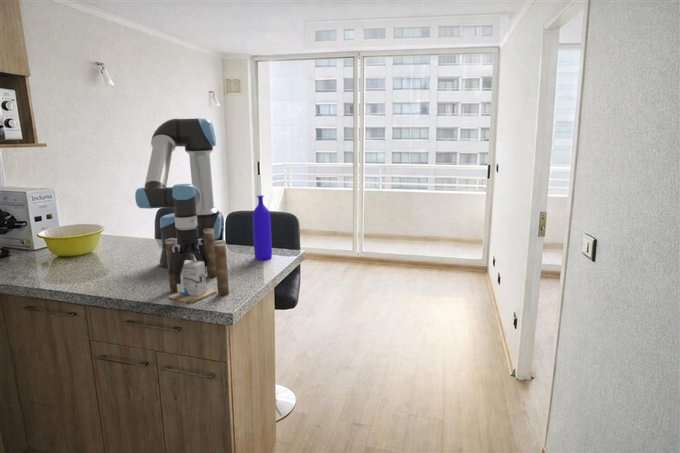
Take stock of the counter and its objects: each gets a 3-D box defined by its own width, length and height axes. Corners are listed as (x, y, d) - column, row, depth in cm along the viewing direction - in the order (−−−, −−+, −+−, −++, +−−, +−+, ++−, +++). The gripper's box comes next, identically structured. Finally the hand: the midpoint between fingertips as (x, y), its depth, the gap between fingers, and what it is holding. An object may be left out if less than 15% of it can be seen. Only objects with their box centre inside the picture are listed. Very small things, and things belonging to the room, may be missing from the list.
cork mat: (168, 298, 161) (167, 296, 161) (193, 288, 171) (193, 286, 171) (191, 303, 155) (191, 301, 155) (216, 293, 165) (216, 291, 165)
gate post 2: (204, 277, 184) (201, 230, 180) (212, 274, 188) (208, 228, 184) (212, 278, 182) (208, 231, 178) (219, 275, 186) (215, 229, 182)
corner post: (215, 294, 164) (211, 242, 159) (223, 291, 167) (219, 239, 163) (223, 296, 162) (220, 243, 157) (231, 293, 165) (228, 241, 161)
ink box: (178, 294, 162) (176, 263, 160) (187, 289, 167) (184, 259, 164) (199, 296, 160) (196, 265, 157) (207, 291, 164) (204, 261, 162)
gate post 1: (167, 291, 168) (162, 240, 164) (176, 287, 171) (171, 237, 167) (175, 293, 166) (170, 241, 162) (183, 289, 169) (179, 238, 165)
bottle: (255, 256, 215) (252, 194, 208) (272, 255, 215) (270, 194, 209) (253, 260, 207) (250, 197, 200) (271, 260, 207) (268, 196, 201)
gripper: (168, 235, 146) (174, 298, 151) (217, 222, 165) (221, 280, 170) (153, 232, 150) (159, 295, 155) (202, 221, 169) (206, 277, 174)
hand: (191, 287), depth 162 cm, fingers open, 9 cm apart
